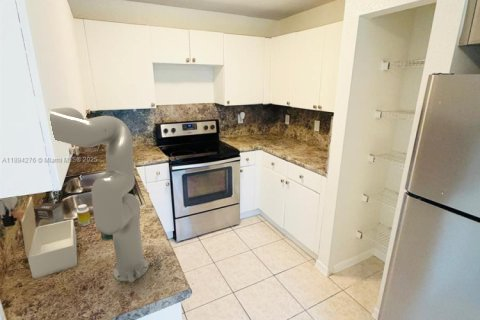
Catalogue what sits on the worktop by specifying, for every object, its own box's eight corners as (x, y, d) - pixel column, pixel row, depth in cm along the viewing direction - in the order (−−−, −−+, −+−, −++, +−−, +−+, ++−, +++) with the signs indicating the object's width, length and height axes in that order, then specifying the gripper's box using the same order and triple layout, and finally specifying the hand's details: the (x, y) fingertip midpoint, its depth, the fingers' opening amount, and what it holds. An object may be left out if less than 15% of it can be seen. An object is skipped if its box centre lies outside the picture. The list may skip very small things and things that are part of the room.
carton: (77, 266, 103) (73, 245, 100) (33, 279, 96) (27, 257, 93) (76, 237, 123) (73, 219, 120) (39, 246, 115) (35, 227, 113)
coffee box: (39, 239, 120) (32, 208, 116) (50, 232, 126) (44, 202, 122) (57, 241, 119) (51, 209, 115) (68, 233, 125) (62, 203, 121)
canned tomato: (114, 240, 120) (111, 219, 117) (98, 240, 120) (94, 219, 117) (122, 231, 128) (119, 211, 125) (106, 231, 128) (103, 211, 125)
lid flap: (23, 221, 90) (1, 224, 87) (28, 256, 93) (8, 260, 90) (32, 196, 109) (14, 198, 106) (36, 226, 113) (19, 229, 110)
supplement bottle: (92, 223, 134) (89, 205, 132) (80, 227, 131) (77, 209, 128) (89, 220, 138) (86, 202, 135) (77, 223, 134) (74, 206, 131)
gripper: (7, 183, 88) (19, 230, 93) (16, 170, 101) (26, 212, 107) (-23, 187, 84) (-8, 237, 89) (-10, 173, 98) (2, 217, 103)
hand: (10, 223), depth 98 cm, fingers closed on lid flap, 3 cm apart
